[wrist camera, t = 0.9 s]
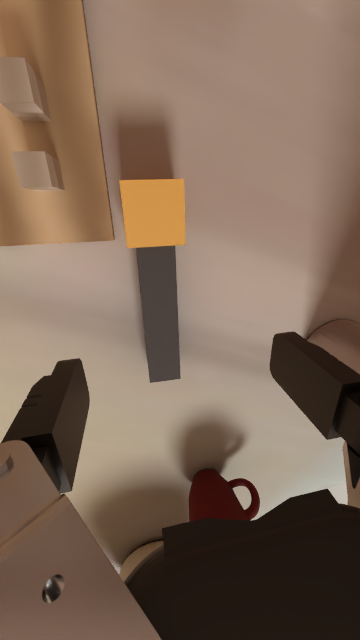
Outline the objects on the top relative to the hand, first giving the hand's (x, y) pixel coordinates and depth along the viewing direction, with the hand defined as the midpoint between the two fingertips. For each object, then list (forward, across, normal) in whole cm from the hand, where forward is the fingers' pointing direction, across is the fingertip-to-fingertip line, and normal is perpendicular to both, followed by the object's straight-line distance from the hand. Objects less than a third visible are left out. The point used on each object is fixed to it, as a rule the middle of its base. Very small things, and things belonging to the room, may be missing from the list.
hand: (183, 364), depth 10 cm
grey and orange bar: (+16, 0, +2) cm, 16 cm away
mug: (+16, -7, +32) cm, 36 cm away
